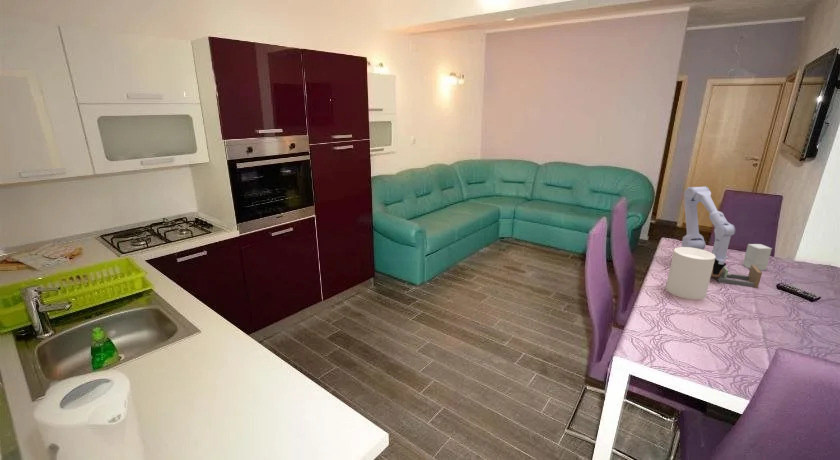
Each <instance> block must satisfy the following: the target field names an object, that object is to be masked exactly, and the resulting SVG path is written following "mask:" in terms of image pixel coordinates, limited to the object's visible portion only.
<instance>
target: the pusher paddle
mask: <svg viewBox="0 0 840 460" xmlns="http://www.w3.org/2000/svg"><path fill="white" fill-rule="evenodd" d="M731 274H732V273H731V272H729V269H728V268H727V266H726V265H725V266H724V267H723V269H722V272H721V276H720V278H726V279H728V278H727V275H729V276H730V275H731Z"/></svg>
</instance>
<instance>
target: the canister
mask: <svg viewBox="0 0 840 460" xmlns="http://www.w3.org/2000/svg"><path fill="white" fill-rule="evenodd" d="M715 257H716V256H715V255H714V254H712V252H710V251H707V250H705V249H703V250H702V249H697V248H691V247H682V246H680V247H675V248H674V249H673V253H672V259H671V263H670V266H669V270H668V271H669V272H668V276H667V281H666V284H665V285H666V287H665V289H666V291H667V292H668V293H670V294H671V295H674V296H677V297H679V298H682V299H686V300H691V301H692V300H693V301H695V300H696V301H700V300H704V299H706V298H707V292H708V289H709V285H710V280H711V278H712V276H711V273H712V269H713V265H714V261H715Z"/></svg>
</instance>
